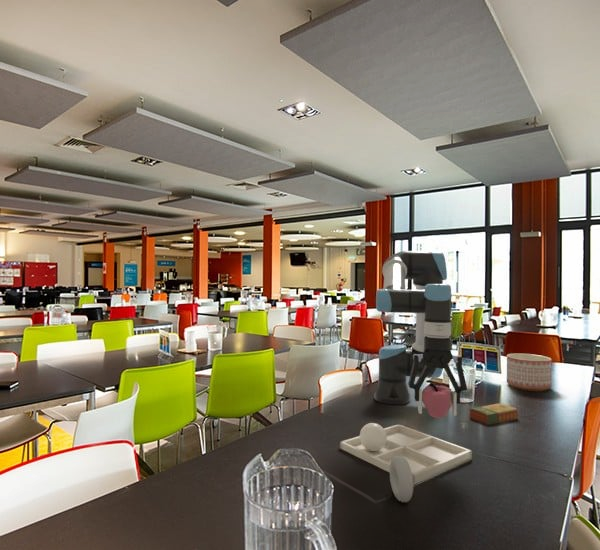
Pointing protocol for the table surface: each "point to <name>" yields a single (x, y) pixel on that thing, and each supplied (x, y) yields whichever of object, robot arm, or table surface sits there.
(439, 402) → the apple
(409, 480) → the white thick disc
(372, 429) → the white ball
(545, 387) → the planter
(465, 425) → the table surface
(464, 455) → the tray
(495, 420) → the carton
